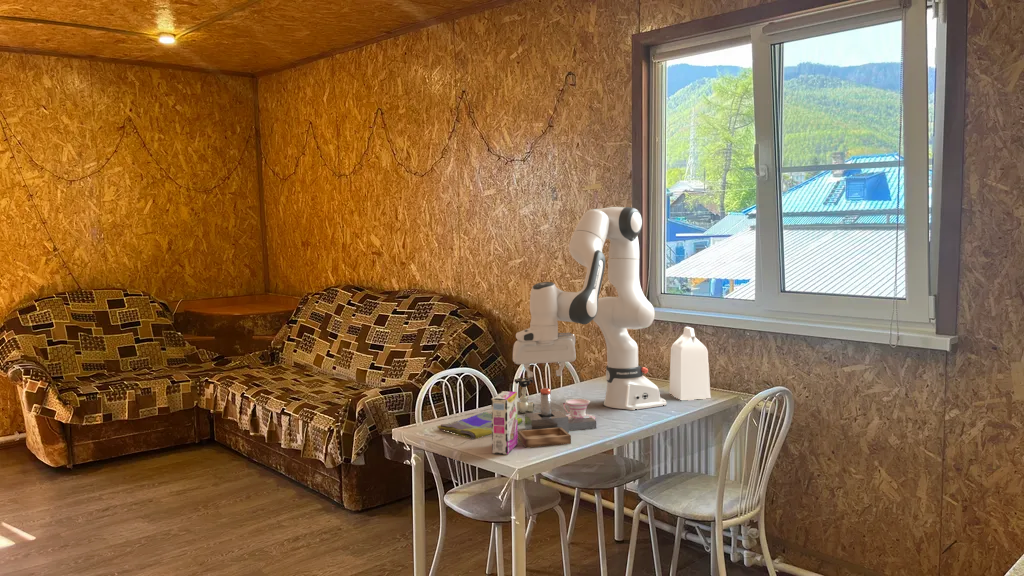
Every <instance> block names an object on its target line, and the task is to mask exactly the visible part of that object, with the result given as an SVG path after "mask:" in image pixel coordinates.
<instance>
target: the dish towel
mask: <svg viewBox="0 0 1024 576" xmlns="http://www.w3.org/2000/svg"><path fill="white" fill-rule="evenodd" d="M517 421H518V425H520V424H521V423H523V418H521V417H517ZM437 429H438V430H440V429H441V430H440V431H442V430H445V431H449V432H452V433H455V434H454V435H456V434H458V435H457V436H459V435H461V437H463V436H465V437H464V438H466V437H468V438H467V439H470V438H471V439H470V440H473V439H472V438H477V439H479V438H482V436H483V437H487V436H490V435H492V413H489V412H486V411H483V412H480V413H477V414H475V415H472V416H469V417H467V418H463V419H459V420H456V421H453V422H449V423H445V424H444V423H443V424H440V425H438V426H437ZM445 431H444V432H445ZM452 433H451V434H452ZM486 435H487V436H486ZM478 437H479V438H478Z"/></svg>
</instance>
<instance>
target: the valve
mask: <svg viewBox="0 0 1024 576" xmlns="http://www.w3.org/2000/svg"><path fill="white" fill-rule="evenodd" d="M513 381H514V383H515V384H516V385H517V384H519V386H520V387H521V388H522V389H521V390H520V391H521V396H519V401H517V413H522V414H525V413H535V402H534V401H529V396H527V387H528V386H530V384H531V383H534V379H533V378H528V377H523V378H521V377H518V378H517V379H516V378H514V379H513Z"/></svg>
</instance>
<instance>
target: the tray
mask: <svg viewBox="0 0 1024 576" xmlns="http://www.w3.org/2000/svg"><path fill="white" fill-rule="evenodd" d="M518 439H519V440H518V442H520V443H521V444H522V445H523V446H524V448H526V447H530V448H538V446H540V447H547V446H548V447H551V446H560V445H561V444H562V445H568V444H569V445H570V444H572V435H571V434H570V433H567V432H566V431H565V430H564V429H563V428H562V427H558V428H547V429H535V430H526V429H525V430H524V429H523V430H518Z"/></svg>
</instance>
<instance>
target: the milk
mask: <svg viewBox="0 0 1024 576" xmlns="http://www.w3.org/2000/svg"><path fill="white" fill-rule="evenodd" d="M709 366H710V364H709V350H708V348H707V347H706V345H705V344H704V343H702V342H701V340H700V339H698V338H697V337H696V334H695V329H694V328H693V327H690V326H684V328H683V333H682V334H681V335H680V336H679V337H678V338H677V339H676V340H675V341H674V342H673V343H672V345H671V347H670V364H669V367H670V368H669V390H668V391H669V393H670V394H672V395H673V396H675V397H676V398H675V397H674V398H675V399H677V398H678V399H680V400H688V401H695V400H694V399H703V400H707V399H706V398H711V384H710V383H711V379H710V367H709ZM669 393H668V394H669ZM670 394H669V395H670ZM672 395H671V396H672ZM673 396H672V397H673ZM678 399H677V400H678ZM711 399H712V398H711ZM680 400H679V401H680Z"/></svg>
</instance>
